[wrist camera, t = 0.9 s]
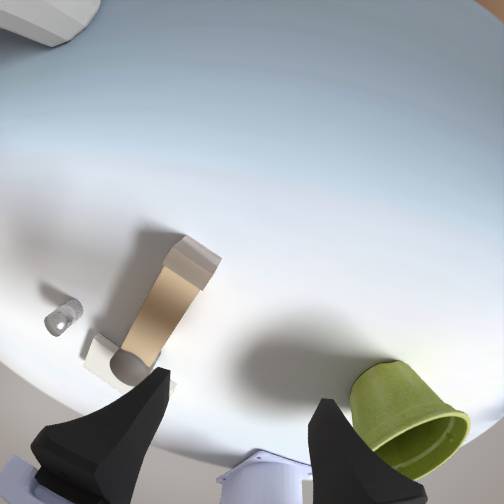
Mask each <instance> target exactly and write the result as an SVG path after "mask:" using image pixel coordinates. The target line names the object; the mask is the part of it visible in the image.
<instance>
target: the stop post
mask: <svg viewBox="0 0 504 504" xmlns="http://www.w3.org/2000/svg"><path fill="white" fill-rule="evenodd" d="M82 315H83V308H82V305H81V304H80V302H79V301H77V300H76V299H73V298H71V299H69V300H68V301H67V302H65V303H64V304H62V305H61V306H60V307H58V308H57V309H56V310H54V311H53V312H52V313H50V314H49V315H48V316H47V317H45V320H44V322H45V326H46V328H47V330H48V331H49V332H50V333H51V334H52V335H53V336H56V337H58V336H60V335H61V334H62V333H63V332H64V331H65V330H66V329H68V328H69V327H70V326H71V325H72V324H73V323H74V322H75V321H77V320H78V319H79V318H80V317H81V316H82Z"/></svg>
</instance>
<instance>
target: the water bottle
mask: <svg viewBox="0 0 504 504" xmlns="http://www.w3.org/2000/svg"><path fill="white" fill-rule="evenodd" d="M100 3H101V0H0V28H2V29H5V30H8V31H11V32H13V33H16V34H18V35H21V36H24V37H26V38H29V39H31V40H34V41H36V42H38V43H41V44H44V45H47V46H50V47H54V46H56V45H59V44H62V43H64V42H67V41H69V40H72V39H73V38H74V37H75V36H76V35H78V34H79V33H80V32H81V31H82V30H84V29H85V28H86V27H87V26H88V25H89V23H90V22H91V20H92V19H93V18H94V16H95V15H96V14H97V12H98V11H99V7H100Z"/></svg>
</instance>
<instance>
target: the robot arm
mask: <svg viewBox="0 0 504 504" xmlns="http://www.w3.org/2000/svg"><path fill="white" fill-rule="evenodd" d="M170 371H171V370H167V369H164V368H160V367H157V368H156V369H155V370H154V371H152V372H151V373H150V374H149V375H148V376H147V377H146V378H145V379H144V380H143V381H141V382H140V383H139V384H138V385H136V386H135V387H134V388H133V389H131V390H130V391H129V392H127V393H126V394H125V395H123V396H122V397H120V398H119V399H117V400H116V401H114V402H112V403H111V404H109V405H107V406H105V407H104V408H102V409H100V410H97V411H95V412H93V413H91V414H89V415H86V416H84V417H81V418H78V419H75V420H71V421H68V422H65V423H60V424H55V425H49V426H45V427H44V428H43V429H42V430H41V431H40V433H39V434H38V435H37V437H36V438H35V439H34V441H33V442H32V444H31V450H32V452H33V454H34V455H35V457H36V459H37V460H38V462H39V463H40V465H41V468H40V469H39V471H38V470H37V469H36V468H35V467H34V466H33V465H31V464H30V463H28V462H27V461H25V460H24V459H22V458H21V457H20V456H18V455H17V454H13V455H12V456H11V458H10V459H9V461H8V462H7V464H6V465H5V466H4V468H3V469H2V470H1V472H0V497H1V498H2V499H4V500H5V501H6V502H7V503H8V504H130V502H131V498H132V494H133V491H134V487H135V483H136V481H137V478H138V474H139V471H140V468H141V465H142V462H143V459H144V456H145V454H146V451H147V449H148V447H149V445H150V443H151V441H152V439H153V437H154V435H155V433H156V431H157V429H158V427H159V425H160V423H161V421H162V418H163V416H164V413H165V410H166V407H167V404H168V401H169V390H170ZM308 445H309V453H310V460H311V466H308V465H304V464H301V463H298V462H294V461H291V460H288V459H285V458H282V457H279V456H276V455H273V454H270V453H268V452H265V451H259V452H257V453H256V454H254V455H253V456H251V457H250V458H248V459H247V460H245V461H244V462H242V463H241V464H239V465H238V466H236V467H235V468H233V469H232V470H230V471H228V472H227V473H225V474H224V475H222V476H220V477H219V478H217V482H218V483H221V484H223V488H222V493H221V500H220V504H303V501H302V484H301V481H302V480H304V479H306V478H308V477H309V476H311V475H313V504H425V503H426V502H427V500H428V498H427V495H426V492H425V489H424V487H423V485H421V484H419V483H417V482H415V481H413V480H411V479H409V478H408V477H406V476H404V475H403V474H401V473H399V472H398V471H396V470H395V469H394V468H392V467H391V466H389V465H388V464H387V463H386V462H384V461H383V460H382V459H381V458H380V457H379V456H378V455H377V454H375V453H374V452H373V451H372V450H371V449H370V448H369V447H368V445H367V444H366V443H365V442H364V441H363V440H362V439H361V437H360V436H359V435H358V434H357V432H356V431H355V430H354V429H353V427H352V426H351V424H350V423H349V422H348V420H347V419H346V417H345V416H344V414H343V413H342V411H341V410H340V409H339V407H338V406H337V404H336V403H335V401H334V400H333V399H323V398H322V399H321V401H320V403H319V405H318V407H317V409H316V411H315V413H314V415H313V417H312V418H311V420H310V422H309V424H308Z"/></svg>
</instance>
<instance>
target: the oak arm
mask: <svg viewBox="0 0 504 504" xmlns="http://www.w3.org/2000/svg"><path fill="white" fill-rule="evenodd" d="M221 259H222V258H221V257H219V256H218V255H216V254H215V253H213V252H212V251H210V250H209V249H207V248H206V247H204V246H203V245H201V244H200V243H198V242H197V241H195V240H194V239H192V238H191V237H189V236H188V235H186V236H185V237H184V238H182V239H181V240H180V241H179V242H177V243H176V244H175V245H174V246H172V247H171V249H170V251H169V252H168V254H167V256H166V258H165V259H164V261H163V263H162V264H163V265H164V267H163V269H162V271H161V273H160V274H159V276H158V278H157V280H156V282H155V283H154V285H153V287H152V289H151V291H150V292H149V294H148V296H147V298H146V300H145V302H144V304H143V306H142V307H141V309H140V311H139V313H138V315H137V317H136V319H135V321H134V323H133V325H132V327H131V329H130V330H129V332H128V334H127V336H126V338H125V340H124V342H123V344H122V345H121V346H120V347H119V349H118V350H117V351H116V353H115V354H114V355H113V356H112V358H111V359H110V369H111V371H112V373H113V374H114V376H115V377H116V378H117V379H118V380H119V381H121V382H122V383H124V384H126V385H129V386H133V387H135V386H136V385H138V384H139V383H140V382H141V381H143V380H144V379H145V378H146V377H147V376H148V375H149V374H150V372H151V370H152V369H153V367H154V365H155V363H156V362H157V360H158V358H159V356H160V354H161V349H162V348H163V346H164V345H165V343H166V341H167V340H168V338H169V337H170V335H171V334H172V332H173V331H174V329H175V327H176V326H177V324H178V323H179V321H180V320H181V318H182V317H183V315H184V313H185V312H186V310H187V309H188V307H189V306H190V304H191V303H192V301H193V300H194V298H195V297H196V295H197V294H198V292H199V291H200V290H202V291H203V289H204V288H205V286H206V285H207V283H208V282H209V280H210V279H211V277H212V276H213V274H214V272H215V270H216V269H217V267H218V265H219V263H220V261H221Z"/></svg>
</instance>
